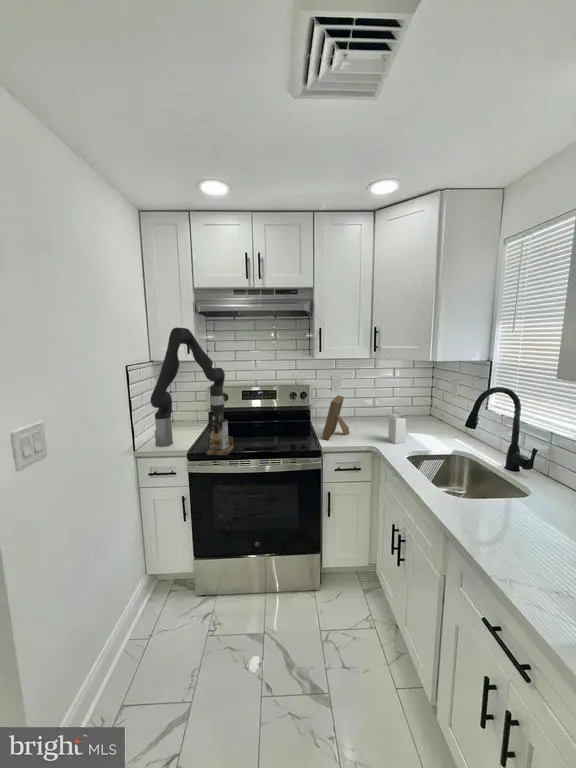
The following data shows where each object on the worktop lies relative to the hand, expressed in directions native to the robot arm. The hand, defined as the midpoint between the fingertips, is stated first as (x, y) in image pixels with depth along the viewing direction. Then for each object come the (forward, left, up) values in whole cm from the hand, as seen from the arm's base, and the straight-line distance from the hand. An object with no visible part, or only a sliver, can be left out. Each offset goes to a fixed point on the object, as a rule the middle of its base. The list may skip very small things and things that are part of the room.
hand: (218, 431), depth 186 cm
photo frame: (+68, +34, -12) cm, 77 cm away
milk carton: (+104, +24, -12) cm, 108 cm away
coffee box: (0, 0, -10) cm, 10 cm away
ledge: (0, +1, -12) cm, 12 cm away
